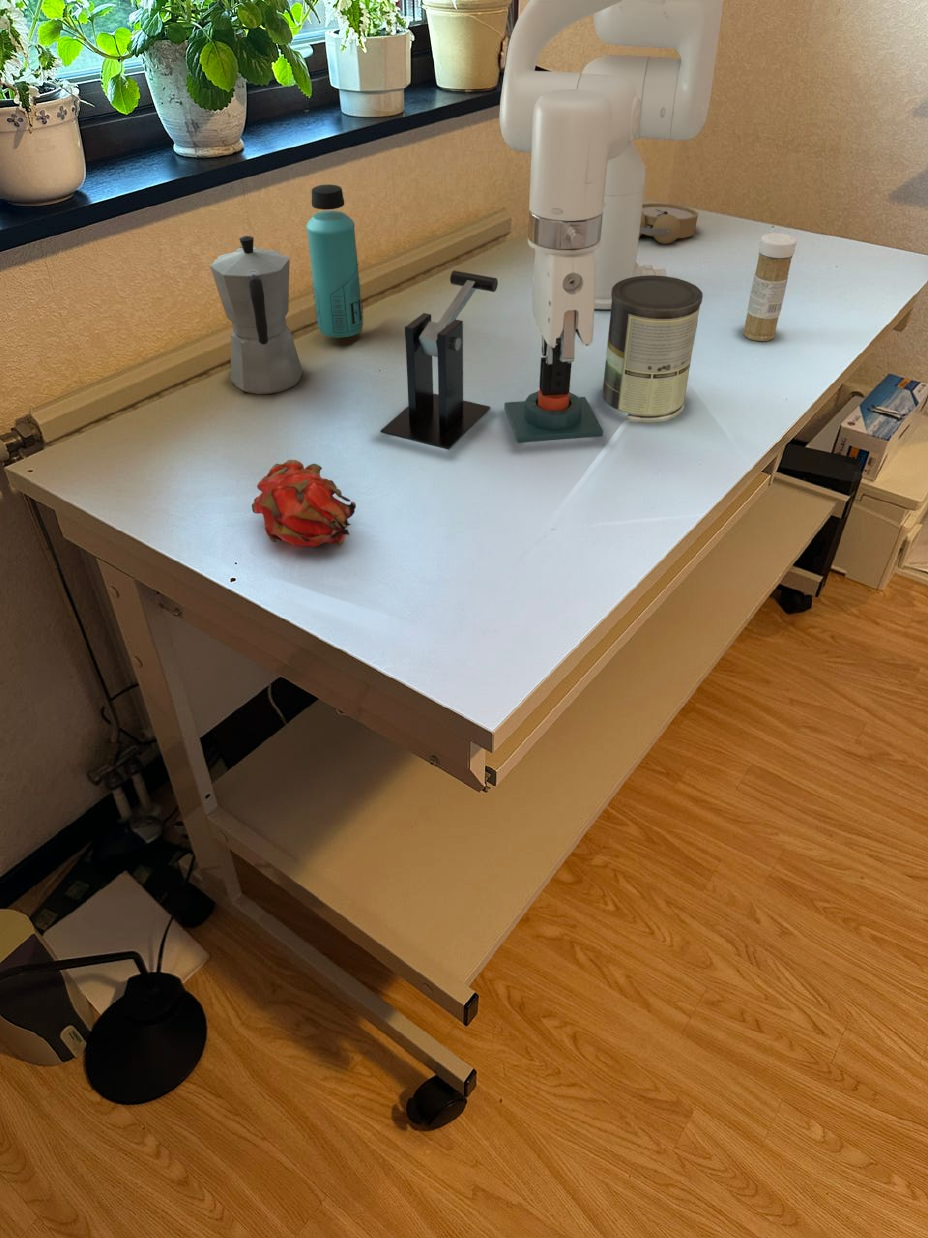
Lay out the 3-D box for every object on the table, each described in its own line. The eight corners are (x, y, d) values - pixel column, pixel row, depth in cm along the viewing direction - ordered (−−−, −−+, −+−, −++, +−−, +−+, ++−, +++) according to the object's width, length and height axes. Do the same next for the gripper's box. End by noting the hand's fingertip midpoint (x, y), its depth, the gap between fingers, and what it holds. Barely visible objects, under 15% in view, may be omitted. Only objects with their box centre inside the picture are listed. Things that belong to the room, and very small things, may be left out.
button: (564, 397, 110) (565, 383, 109) (571, 411, 108) (573, 397, 107) (535, 399, 110) (535, 385, 109) (541, 413, 107) (542, 400, 106)
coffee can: (583, 403, 116) (593, 291, 107) (634, 377, 121) (648, 268, 112) (650, 432, 110) (667, 316, 101) (701, 403, 116) (721, 291, 106)
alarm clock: (709, 210, 164) (675, 217, 153) (702, 240, 166) (668, 249, 155) (651, 199, 168) (614, 205, 158) (645, 228, 171) (608, 236, 160)
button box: (583, 408, 115) (586, 382, 112) (601, 443, 108) (604, 416, 106) (503, 414, 114) (504, 388, 111) (517, 450, 107) (518, 422, 105)
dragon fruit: (274, 521, 99) (349, 582, 94) (216, 511, 92) (294, 576, 86) (310, 451, 97) (389, 509, 92) (253, 435, 89) (336, 497, 84)
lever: (457, 281, 111) (454, 264, 109) (499, 289, 109) (496, 271, 107) (409, 351, 105) (405, 334, 103) (452, 360, 104) (449, 343, 102)
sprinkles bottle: (767, 327, 133) (788, 230, 124) (780, 341, 129) (803, 242, 121) (736, 330, 132) (755, 232, 124) (749, 343, 129) (769, 244, 120)
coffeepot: (227, 360, 125) (202, 221, 113) (297, 353, 127) (280, 215, 115) (235, 414, 114) (209, 266, 102) (312, 405, 116) (295, 258, 104)
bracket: (425, 399, 117) (422, 299, 108) (490, 415, 113) (492, 312, 105) (380, 439, 109) (373, 334, 101) (449, 457, 106) (447, 350, 98)
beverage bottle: (357, 350, 127) (344, 196, 115) (311, 346, 129) (293, 193, 116) (370, 330, 132) (359, 180, 119) (325, 327, 133) (310, 178, 120)
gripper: (620, 251, 91) (602, 420, 103) (582, 203, 102) (570, 361, 114) (544, 256, 90) (535, 426, 102) (515, 207, 101) (510, 365, 113)
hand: (554, 391), depth 108 cm, fingers closed
